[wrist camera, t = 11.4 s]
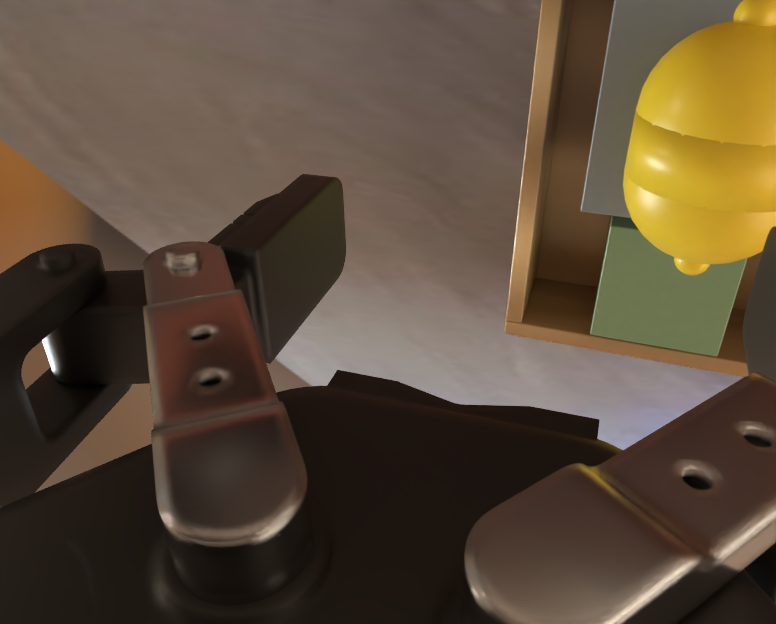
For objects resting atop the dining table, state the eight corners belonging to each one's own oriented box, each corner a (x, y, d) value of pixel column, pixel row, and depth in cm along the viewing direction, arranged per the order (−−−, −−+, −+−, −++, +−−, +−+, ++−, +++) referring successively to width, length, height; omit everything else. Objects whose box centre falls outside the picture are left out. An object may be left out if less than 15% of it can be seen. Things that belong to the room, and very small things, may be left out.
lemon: (654, -22, 23) (664, 2, 18) (845, -14, 22) (906, 14, 17) (607, 231, 28) (605, 300, 23) (761, 249, 26) (791, 326, 22)
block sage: (617, 177, 35) (610, 225, 30) (739, 191, 33) (752, 244, 28) (599, 276, 38) (589, 334, 33) (710, 293, 36) (717, 357, 31)
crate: (566, -73, 31) (548, -65, 26) (925, -63, 27) (980, -52, 22) (522, 281, 40) (503, 334, 35) (786, 323, 36) (804, 388, 32)
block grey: (626, -33, 30) (615, -10, 24) (835, -24, 28) (887, 3, 22) (595, 149, 34) (579, 212, 28) (775, 169, 32) (804, 241, 26)
